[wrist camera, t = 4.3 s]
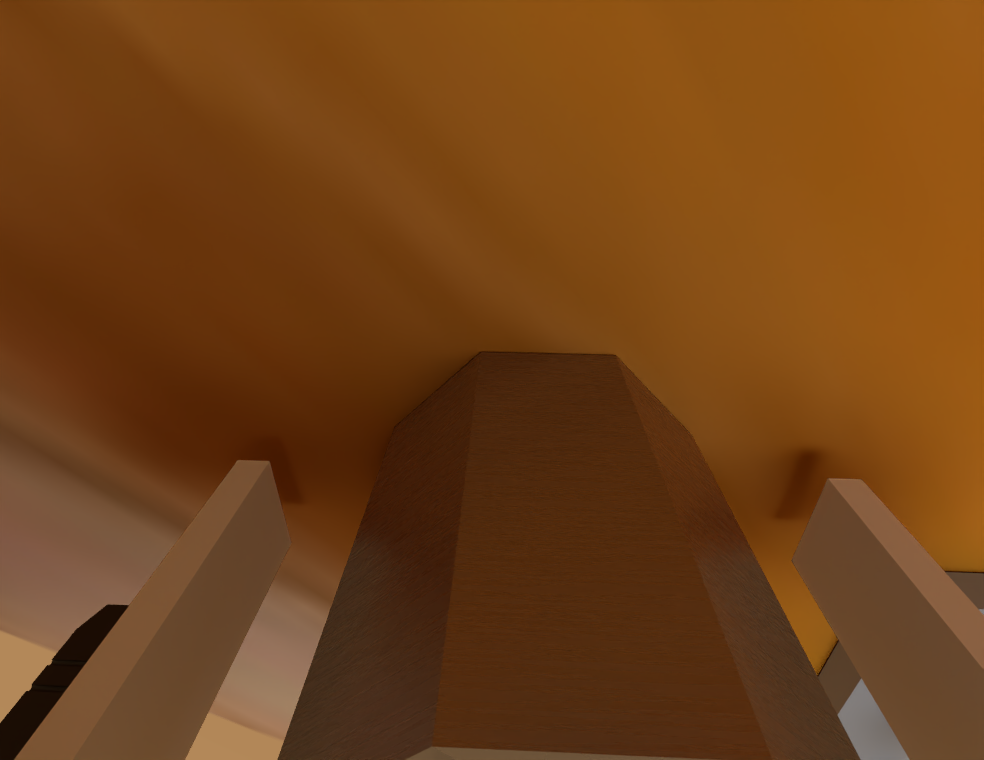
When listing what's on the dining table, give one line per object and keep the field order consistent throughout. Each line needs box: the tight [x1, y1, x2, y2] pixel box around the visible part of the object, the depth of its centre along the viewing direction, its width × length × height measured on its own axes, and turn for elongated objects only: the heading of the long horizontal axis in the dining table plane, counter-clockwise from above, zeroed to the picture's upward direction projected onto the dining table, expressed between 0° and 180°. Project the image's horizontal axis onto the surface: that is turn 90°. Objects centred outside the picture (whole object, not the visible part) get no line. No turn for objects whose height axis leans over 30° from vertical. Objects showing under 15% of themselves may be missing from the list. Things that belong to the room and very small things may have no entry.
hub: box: [278, 352, 861, 760], centre depth 10 cm, size 7×7×8 cm
